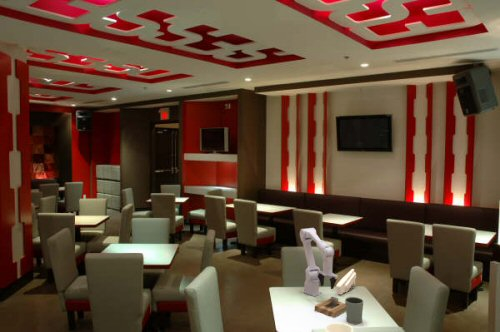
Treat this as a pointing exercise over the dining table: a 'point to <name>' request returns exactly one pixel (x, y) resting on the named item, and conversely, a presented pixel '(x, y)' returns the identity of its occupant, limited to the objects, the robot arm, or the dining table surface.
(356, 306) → the gray cup
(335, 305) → the steel bracket
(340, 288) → the shelf bracket
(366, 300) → the dining table surface
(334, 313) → the oak well block
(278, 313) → the dining table surface
